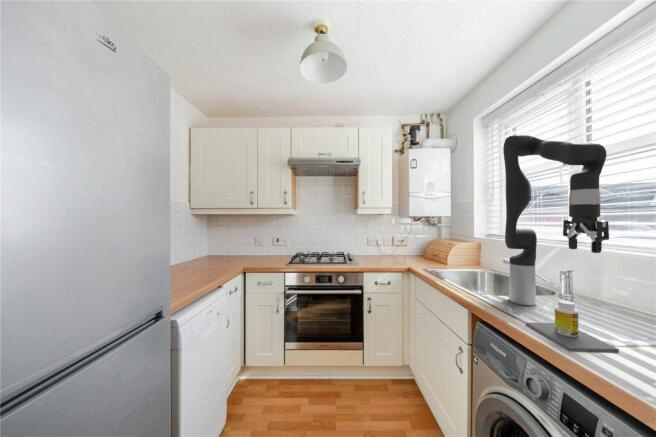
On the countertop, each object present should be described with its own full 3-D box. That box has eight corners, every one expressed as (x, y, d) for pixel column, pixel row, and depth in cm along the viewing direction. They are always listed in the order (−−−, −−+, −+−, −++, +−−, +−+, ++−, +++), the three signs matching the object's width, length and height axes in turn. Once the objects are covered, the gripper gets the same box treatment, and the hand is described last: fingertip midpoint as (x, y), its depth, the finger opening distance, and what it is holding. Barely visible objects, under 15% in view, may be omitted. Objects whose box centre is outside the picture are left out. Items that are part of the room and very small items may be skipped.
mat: (525, 324, 91) (525, 322, 91) (564, 325, 90) (564, 323, 90) (570, 350, 73) (570, 348, 73) (618, 351, 72) (618, 349, 72)
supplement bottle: (575, 339, 78) (575, 306, 78) (552, 333, 83) (552, 301, 83) (580, 335, 81) (580, 302, 81) (558, 328, 86) (557, 298, 86)
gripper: (555, 204, 94) (555, 248, 94) (592, 202, 80) (592, 254, 80) (577, 203, 93) (577, 248, 94) (618, 202, 79) (618, 254, 80)
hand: (584, 250), depth 87 cm, fingers open, 8 cm apart
